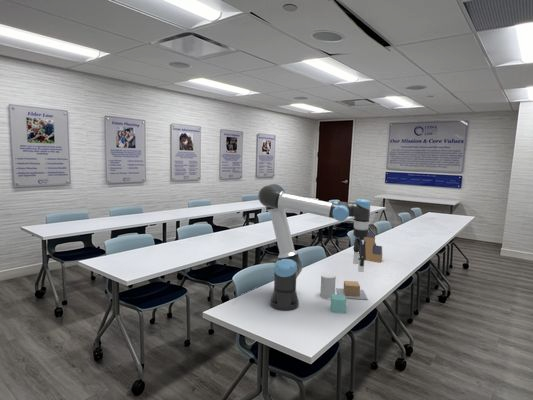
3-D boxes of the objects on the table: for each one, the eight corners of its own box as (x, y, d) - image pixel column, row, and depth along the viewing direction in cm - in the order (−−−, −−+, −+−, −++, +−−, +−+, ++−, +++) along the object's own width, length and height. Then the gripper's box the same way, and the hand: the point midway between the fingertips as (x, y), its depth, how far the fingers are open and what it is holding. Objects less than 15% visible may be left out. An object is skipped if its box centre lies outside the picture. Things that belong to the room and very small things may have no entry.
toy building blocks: (363, 260, 268) (365, 229, 265) (369, 254, 284) (371, 225, 281) (380, 262, 262) (382, 231, 259) (385, 257, 278) (387, 227, 275)
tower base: (338, 298, 192) (339, 287, 191) (336, 289, 206) (336, 278, 205) (367, 300, 190) (368, 288, 189) (363, 290, 204) (363, 280, 203)
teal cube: (331, 312, 174) (332, 299, 173) (330, 306, 181) (331, 293, 180) (345, 313, 173) (346, 300, 173) (343, 307, 180) (344, 294, 179)
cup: (324, 291, 201) (325, 272, 200) (337, 295, 196) (338, 275, 194) (317, 295, 195) (318, 275, 193) (330, 299, 190) (331, 279, 188)
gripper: (374, 234, 167) (370, 275, 169) (363, 224, 191) (360, 261, 194) (358, 233, 167) (355, 275, 170) (349, 223, 192) (347, 260, 194)
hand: (358, 267), depth 182 cm, fingers open, 13 cm apart
